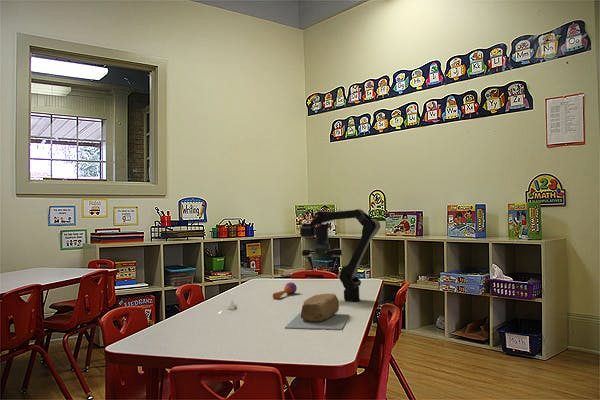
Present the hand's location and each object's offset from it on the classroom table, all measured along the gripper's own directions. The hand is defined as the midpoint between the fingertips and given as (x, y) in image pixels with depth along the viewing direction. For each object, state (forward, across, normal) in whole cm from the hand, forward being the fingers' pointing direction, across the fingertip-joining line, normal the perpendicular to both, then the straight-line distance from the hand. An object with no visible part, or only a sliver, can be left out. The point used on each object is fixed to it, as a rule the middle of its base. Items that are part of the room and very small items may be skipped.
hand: (322, 270), depth 231 cm
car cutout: (+14, -36, -31) cm, 49 cm away
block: (+9, +7, -33) cm, 35 cm away
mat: (+13, +6, -49) cm, 51 cm away
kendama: (+14, -20, +6) cm, 25 cm away
